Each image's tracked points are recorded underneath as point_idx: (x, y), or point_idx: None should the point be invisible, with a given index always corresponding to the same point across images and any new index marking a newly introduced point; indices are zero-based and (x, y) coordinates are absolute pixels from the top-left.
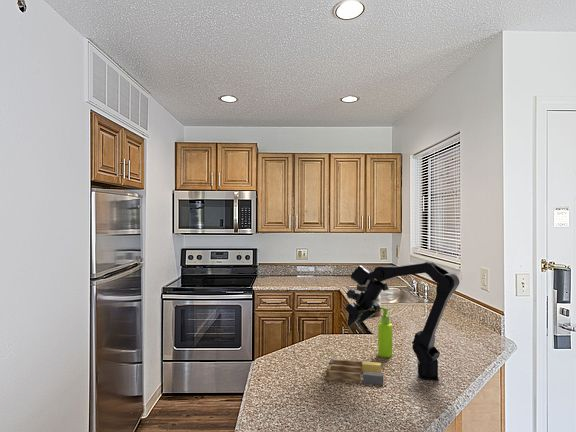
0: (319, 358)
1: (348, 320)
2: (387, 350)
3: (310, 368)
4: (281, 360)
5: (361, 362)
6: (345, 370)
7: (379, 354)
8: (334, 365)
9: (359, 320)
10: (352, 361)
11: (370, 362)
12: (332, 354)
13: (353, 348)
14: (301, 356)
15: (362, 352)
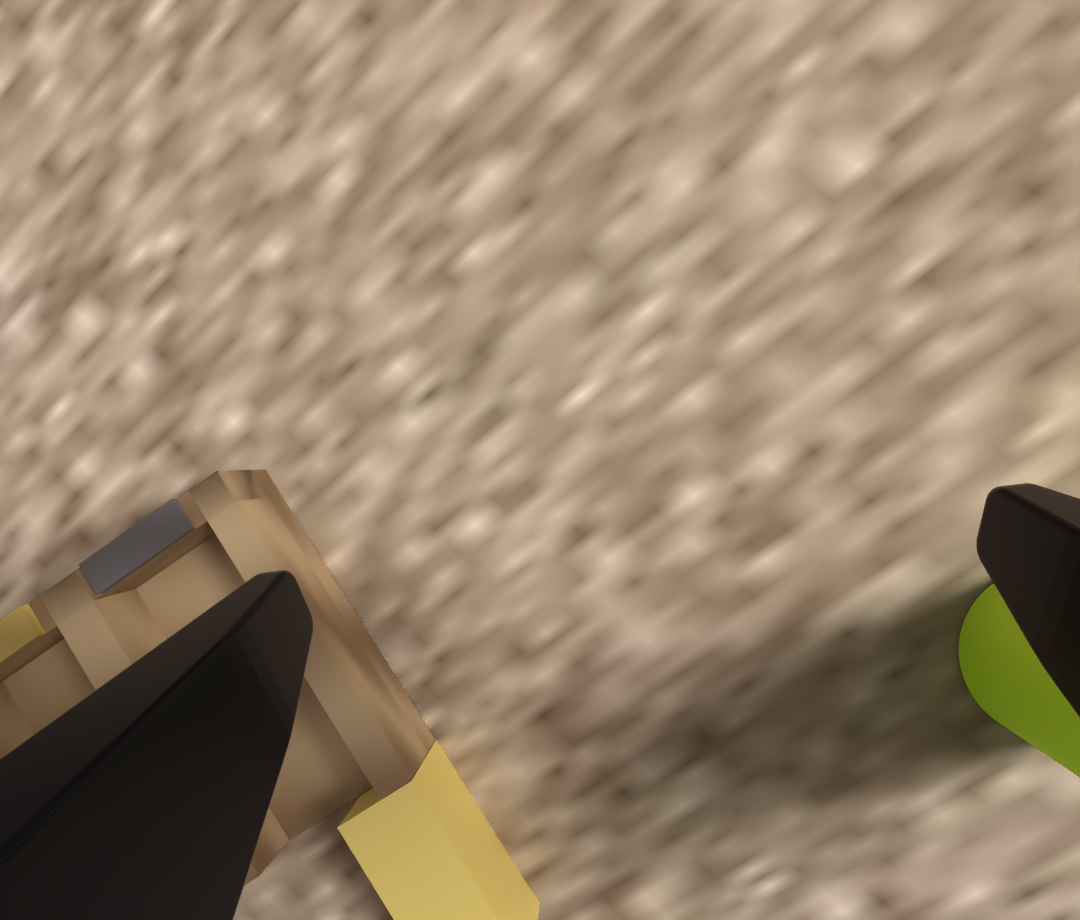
0: (359, 213)
1: (88, 722)
2: (1052, 758)
3: (84, 369)
4: (36, 9)
5: (378, 790)
6: None
7: (972, 625)
8: (81, 643)
9: (1023, 518)
10: (322, 702)
11: (448, 872)
12: (571, 209)
13: (965, 214)
14: (265, 39)
15: (914, 396)
